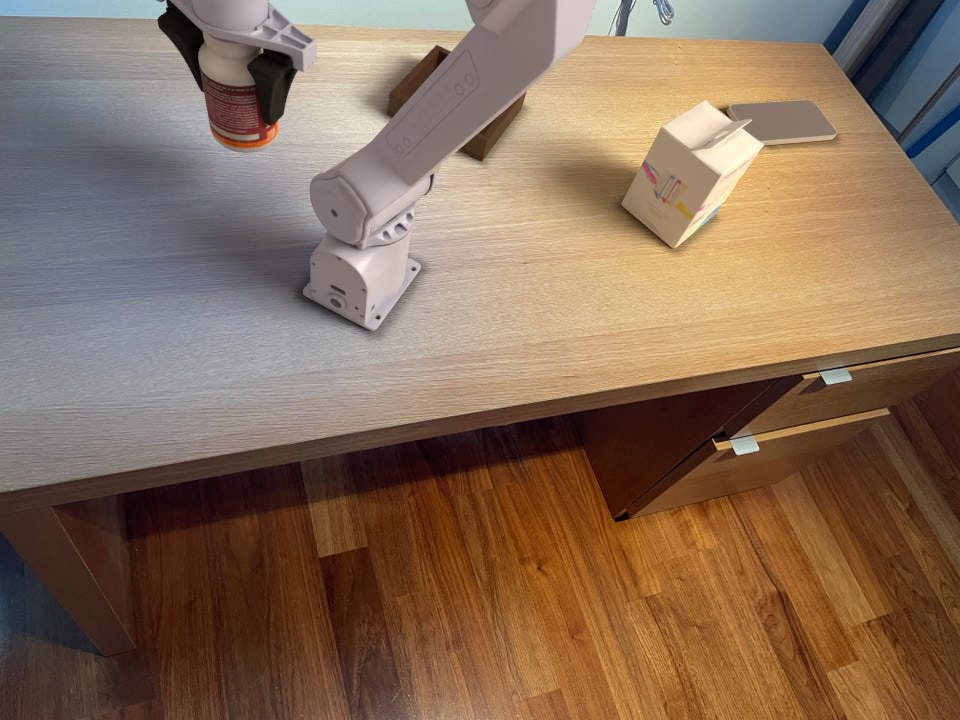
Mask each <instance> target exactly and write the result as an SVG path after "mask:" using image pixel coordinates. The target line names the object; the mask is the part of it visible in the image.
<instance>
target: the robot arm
mask: <svg viewBox="0 0 960 720" xmlns="http://www.w3.org/2000/svg"><path fill="white" fill-rule="evenodd" d="M155 1H157V2H158V3H163V2H166V7H165V12H163V13H162V14H160V15H159V16H158V18H157V25H158V29H159V30H160V31H161V32H162V33H163V34H164V35H165V36H166V37H167V39H169V41H170V42H171V43H172V44H173V45H174V47H175V48H176V49H177V50H178V51H177V52H178V53H179V54H180V55H181V56H182V58H183V60H184V62H185V63H186V65H187V67H188V69H189V71H190V72H191V74H192V77H193V78H194V81H195V83H196V85H197V86H198V88H199V91H200V92H202V93H204V89H203V84H202V78H201V72H200V67H199V59H198V54H199V49H200V47H201V45H202V44H203V42H204V37H203V31H204V32H205V33H207V34H209V35H211V36H214V37H217V38H221V39H225V40H229V41H234V42H238V43H243V44H247V45H252V46H256V47H260V48H263V53H262V54H259V55H258V56H257V57H256V58H255V59H253V60H252V61H251V62H250V63H248V64H247V70H248V71H249V73H250V74H251V76H252V78H253V80H254V82H255V84H256V87H257V90H258V93H259V97H260V104H261V112H262V117H263V120H264V122H265V123H266V124H268V125H270V126H272V125H273V124H274V123H275V122H277V121H279V120H280V119H281V118H282V117H283V116H284V114H285V109H286V104H287V101H288V100H287V99H288V96H289V93H290V89H291V87H292V84H293V82H294V79H295V77H296V75H297V73H298V72H301V73H305V72H306V71H308V70H309V69H310V68H311V67H312V66H313V65H314V64H315V63H316V62H318V51H317V44H318V43H317V39H315V38H313V37H311V36H310V35H308V34H306V33H305V32H304V31H302V30H301V29H300V28H299V27H297V26H296V25H295V24H294V23H293V22H292V21H290V19H288V18H287V17H286V16H285V15H284V14H283V13H282V12H281V11H279V10H278V9H277V8H276V7H275V6H274V5H273V4H272V3H270V2H269V1H270V0H155ZM597 1H598V0H464V2H465V5H466V8H467V11H468V13H469V16H470V18H471V20H472V21H471V22H472V23H473V24H474V25H473V27H472V28H471V29H470V30H469V31H468V33H466V35H464V37H463V38H462V39H461V40H460V42H458V44H456V45H455V47H454V48H453V49H452V50H451V53H450V54H449V55H448V56H447V57H446V58H445V59H444V61H443V62H442V63H441V64H440V65H439V66H438V67H437V68H436V69H435V71H434V72H433V73H432V74H431V75H430V76H429V77H428V78H427V80H426V81H425V82H424V83H423V84H422V85H421V86H420V87H419V89H418V90H417V91H416V92H415V93H414V94H413V95H412V96H411V98H410V99H409V100H408V101H407V102H406V103H405V104H404V105H403V106H402V108H401V109H400V110H399V111H398V112H397V113H396V114H395V115H394V117H392V118H391V119H390V120H389V121H388V122H387V123H385V125H384V126H383V128H382V129H381V130H380V131H379V132H378V133H377V134H376V135H375V136H374V138H373V139H372V140H371V141H369V142H368V143H367V144H366V145H365V146H363V147H362V148H360V149H359V150H357V151H355V152H354V153H353V154H351V155H350V156H347V157H346V158H344V159H343V160H342V161H340V162H339V163H337V164H335V165H334V166H333V167H330V168H329V169H327V170H326V171H325V172H319V173H318V174H316V175H314V176H313V177H312V178H311V180H310V183H309V198H310V204H311V207H312V210H313V212H314V214H315V215H316V218H317V219H318V220H319V222H320V223H321V225H322V226H323V227H324V228H325V230H326V231H325V235H324V236H323V239H322V240H321V242H320V243H319V244H318V245H317V246H316V248H315V249H314V250H313V252H312V253H311V255H310V258H309V277H310V281H309V282H308V283H307V284H306V285H305V287H304V288H303V289H302V294H303V296H304V297H306V298H308V299H309V300H311V301H313V302H315V303H317V304H319V305H320V306H323V307H325V308H327V309H328V310H330V311H332V312H334V313H336V314H338V315H340V316H341V317H344V318H346V319H347V320H349V321H351V322H353V323H355V324H357V325H359V326H360V327H362V328H364V329H366V330H368V331H370V332H375V331H377V330H378V328H379V327H380V325H381V324H382V323H383V322H384V320H385V319H386V317H387V316H388V315H389V313H390V312H391V311H392V309H393V308H394V307H395V305H396V304H397V302H398V301H399V299H401V297H402V295H404V293H405V292H406V290H407V289H408V287H409V286H410V285H411V283H412V282H413V280H414V279H415V278H416V276H417V275H418V273H419V272H420V271H421V268H422V265H421V263H420V262H418V261H416V260H415V259H412V258H410V257H409V250H410V245H411V237H412V231H413V227H414V226H413V225H414V218H415V212H416V211H417V210H418V209H419V206H420V199H421V197H423V196H427V195H428V194H430V193H431V192H432V191H433V190H434V188H435V187H436V184H437V181H438V174H439V172H440V170H441V169H442V168H443V167H445V165H446V164H447V163H448V160H449V159H450V158H451V157H452V156H453V155H455V154H456V153H457V152H458V151H460V150H459V149H460V148H461V147H463V146H464V145H465V144H466V143H467V142H468V141H470V140H471V139H472V138H473V137H474V136H475V135H477V134H478V133H479V132H480V131H481V130H482V129H484V128H485V127H486V126H487V125H488V124H489V123H491V122H492V121H493V120H494V119H495V118H496V117H498V116H499V115H500V114H501V113H502V112H503V111H505V110H506V109H507V108H508V107H509V106H510V105H512V104H513V103H514V102H515V101H516V100H517V99H518V98H520V97H521V96H522V95H523V94H524V93H525V92H526V93H527V92H528V91H529V90H531V88H533V87H534V86H535V85H536V84H537V83H538V82H539V81H541V80H542V79H543V78H544V77H545V76H547V75H548V74H549V73H550V72H551V71H552V70H553V69H555V68H556V67H557V66H559V64H561V63H562V62H563V61H564V60H565V59H566V58H567V57H569V56H570V55H571V54H572V53H574V52H575V51H576V50H577V48H578V47H579V46H580V45H581V43H582V42H583V40H584V38H585V36H586V34H587V32H588V29H589V25H590V23H591V19H592V16H593V14H594V11H595V8H596V4H597ZM378 318H379V319H378Z"/></svg>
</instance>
